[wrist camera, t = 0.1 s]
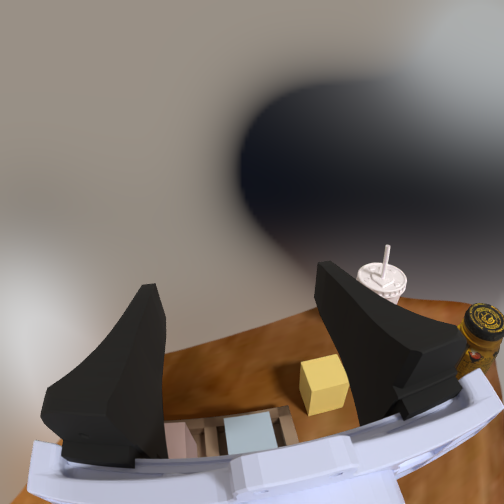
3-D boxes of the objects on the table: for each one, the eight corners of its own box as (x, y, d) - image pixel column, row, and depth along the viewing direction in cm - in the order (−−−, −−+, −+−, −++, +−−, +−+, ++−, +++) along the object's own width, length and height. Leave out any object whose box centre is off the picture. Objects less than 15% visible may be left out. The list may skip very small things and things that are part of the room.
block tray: (326, 548, 15) (330, 547, 14) (73, 549, 12) (60, 545, 11) (287, 415, 29) (288, 405, 28) (85, 429, 26) (76, 419, 25)
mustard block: (342, 407, 29) (350, 381, 26) (308, 416, 28) (311, 391, 26) (331, 381, 32) (336, 354, 30) (299, 388, 32) (300, 362, 30)
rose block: (199, 477, 22) (186, 460, 19) (159, 478, 21) (140, 461, 19) (196, 444, 25) (184, 421, 23) (159, 445, 25) (142, 423, 22)
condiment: (431, 364, 32) (462, 290, 26) (483, 380, 27) (524, 309, 21) (417, 407, 27) (457, 333, 21) (476, 424, 22) (529, 355, 16)
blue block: (278, 467, 23) (278, 449, 20) (235, 474, 22) (228, 457, 20) (270, 434, 26) (268, 411, 24) (230, 440, 26) (223, 418, 23)
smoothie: (344, 346, 37) (359, 253, 30) (350, 315, 42) (362, 228, 35) (390, 352, 35) (417, 261, 28) (391, 321, 40) (411, 235, 33)
